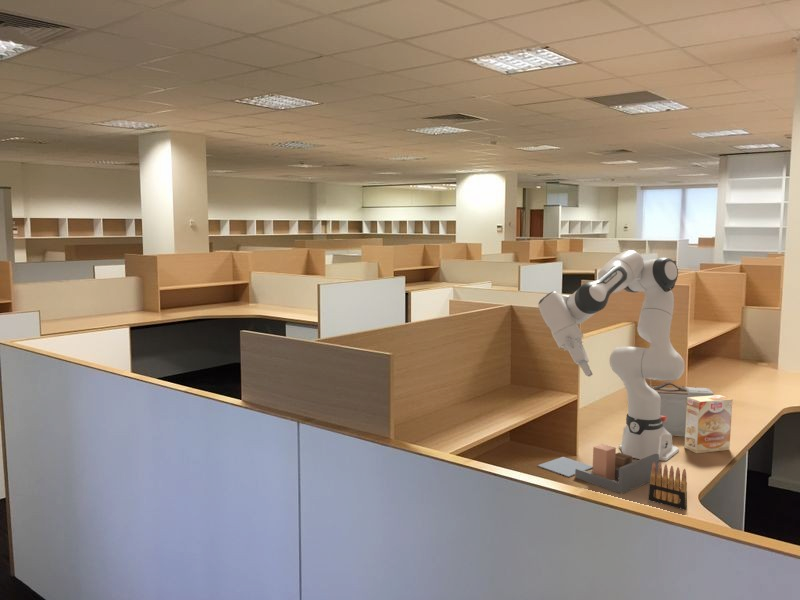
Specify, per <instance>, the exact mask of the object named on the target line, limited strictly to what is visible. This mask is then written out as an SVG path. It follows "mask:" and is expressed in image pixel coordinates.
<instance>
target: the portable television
mask: <svg viewBox="0 0 800 600" xmlns="http://www.w3.org/2000/svg"><path fill="white" fill-rule="evenodd" d="M649 383H650V384H649V387H651V388H652V389H654V390H655V391H656V392H658V394H659V395H660V397H661V411H660V416H661V415H662V416H666V418H667V419H666V421H665V422H664V421H662V424H663V427H664V428H665V429H666V430H667V431H668V432H669V433H670V434H671V435H672V437H674V436H675V437H685V429H686V412H687V397H699V396H712V395H714V392H713V391H712V390H711V389H710V388H709V387H696V386H693V387H692V386H691V387H690V386H684V385H682V387H681V386H678V385H676V384H674V383H673V382H671V381H670V382H669V381H666V382H664V383H663V384H661V385H657V386H656V385H655V386H652V379H649ZM667 386H673V387H667Z"/></svg>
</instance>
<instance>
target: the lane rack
mask: <svg viewBox="0 0 800 600" xmlns="http://www.w3.org/2000/svg"><path fill="white" fill-rule="evenodd" d="M653 462H655V465H656V477H657V472H658V465H659V463H660V460H659V454H653V455H650V456H648V457H645V458H643V459H638V460H635V461H633V460H632V463H630V464H627V465H625V466H622V467H620V468H619V469H617V468H615V479H617V480H618V481H616V480H615V481H614V480H611V479H608V478H605V477H602V476H599V475H596V474H593V472H590V471H588V470H587V471H584V470H581V469H578V468H576V469H575V475H574V478H575V479H577V480H581V481H584V482H587V483H589V484H592V485H594V486H595V485H596V486H597V487H600V488H604V489H607V490H609V491H613V492H614V493H617V494H621V495H622V494H624V493H627V492H629V491H631V490H634V489H636V488H638V487H640V486H643V485H645V484H648V483H649V482H650V478H651V471H652V465H653Z"/></svg>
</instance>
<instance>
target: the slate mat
mask: <svg viewBox="0 0 800 600" xmlns="http://www.w3.org/2000/svg"><path fill="white" fill-rule="evenodd" d="M537 467H538V468H540V469H544V470H546V471H550V472H552V473H556V474H558V475H560V474H561V476H563V475H564V477H566V478H570V477H573V476H574V477H575V469H576V468H578V469H581V470H584V471H587V472H588V471H589V470H593V465H590V464H586V463H583V462H581V461H577V460H575V459H571V458H568V457H565V456H561V457H558V458H555V459H553V460H549V461H546V462H543V463H540V464H537Z"/></svg>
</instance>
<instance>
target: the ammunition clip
mask: <svg viewBox="0 0 800 600" xmlns="http://www.w3.org/2000/svg"><path fill="white" fill-rule="evenodd" d="M662 467H663V468H662ZM662 470H663V471H662ZM668 470H669V471H668ZM686 470H687V469H686V468H683V470H682V472H681V470H680V468H679V466H677V468H676V470H675V472H674V467H673V465H671V466H670V469H668V464H665V465H664V466H662V464H661V463H660V462H659V465H658V472H657V477H656V465H655V462H653V465H652V471H651V478H650V483H649V489H648V499H647V500H648V501H649V500H650V502H653V501H654V503H657V502H658V503H657V504H661V503H662V505H666V506H669V507H673V508H675V509H676V508H677V509H680V508H681V509H680V510H683V509H684V510H683V511H685V510H686V509H687V508H688V491H687V489H688V487H687V486H688V483H687V471H686ZM668 473H669V474H668ZM681 473H682V475H681Z"/></svg>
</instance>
